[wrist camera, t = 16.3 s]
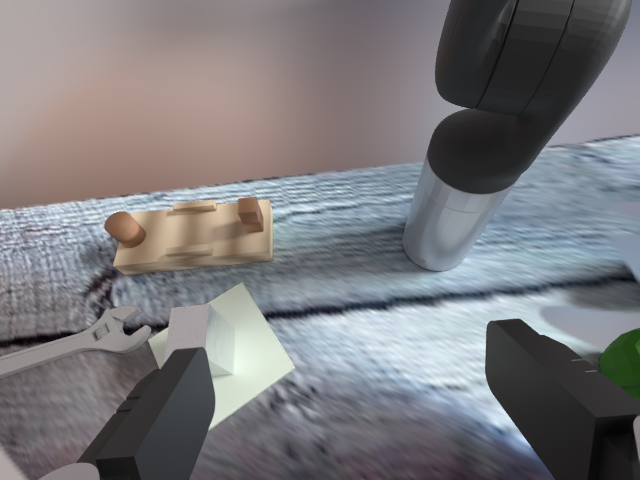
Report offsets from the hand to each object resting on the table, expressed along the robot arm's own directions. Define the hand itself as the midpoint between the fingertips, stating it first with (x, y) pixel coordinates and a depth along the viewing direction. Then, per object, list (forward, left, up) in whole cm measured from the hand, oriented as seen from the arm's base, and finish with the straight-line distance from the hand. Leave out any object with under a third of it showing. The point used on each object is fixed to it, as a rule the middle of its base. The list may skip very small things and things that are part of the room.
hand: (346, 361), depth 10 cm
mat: (+9, -15, -34) cm, 38 cm away
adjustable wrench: (+26, -28, -34) cm, 52 cm away
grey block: (+9, -15, -33) cm, 37 cm away
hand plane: (+4, -32, -34) cm, 46 cm away
